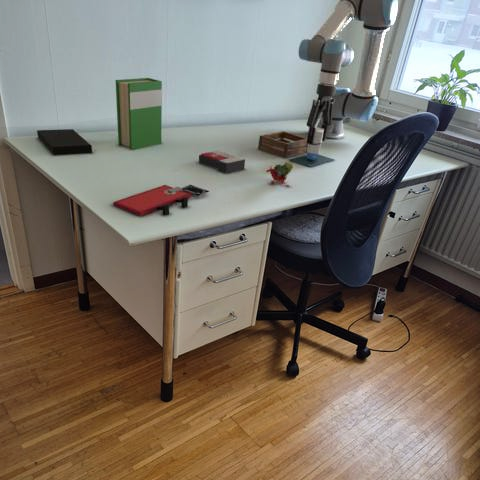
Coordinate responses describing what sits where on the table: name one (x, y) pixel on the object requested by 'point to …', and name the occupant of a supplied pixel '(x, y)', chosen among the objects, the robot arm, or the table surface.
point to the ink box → (315, 144)
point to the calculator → (222, 161)
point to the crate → (283, 144)
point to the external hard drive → (64, 142)
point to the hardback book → (139, 112)
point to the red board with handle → (158, 199)
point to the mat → (309, 162)
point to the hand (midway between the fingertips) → (315, 142)
